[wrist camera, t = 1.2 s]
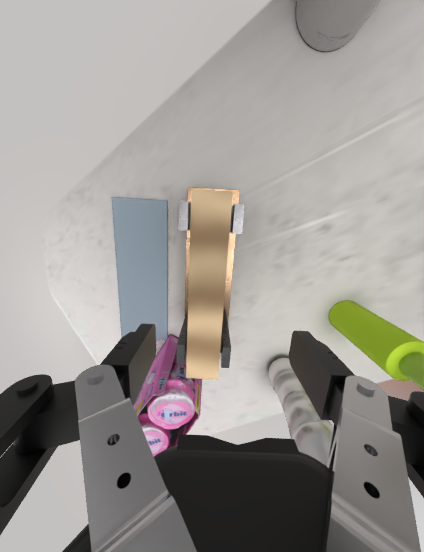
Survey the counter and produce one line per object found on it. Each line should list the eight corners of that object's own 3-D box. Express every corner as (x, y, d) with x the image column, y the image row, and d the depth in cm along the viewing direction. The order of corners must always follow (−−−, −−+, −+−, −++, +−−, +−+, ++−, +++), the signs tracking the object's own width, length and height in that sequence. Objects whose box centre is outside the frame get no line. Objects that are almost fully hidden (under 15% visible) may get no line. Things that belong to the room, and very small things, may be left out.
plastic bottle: (298, 353, 40) (378, 476, 21) (295, 380, 42) (365, 517, 22) (266, 352, 40) (316, 475, 21) (264, 380, 42) (307, 516, 22)
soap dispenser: (321, 328, 38) (429, 436, 19) (336, 296, 37) (473, 380, 17) (348, 336, 39) (482, 450, 19) (365, 305, 37) (530, 396, 18)
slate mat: (112, 197, 32) (111, 197, 32) (167, 200, 32) (166, 200, 32) (122, 336, 39) (121, 337, 39) (167, 339, 39) (167, 340, 39)
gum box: (172, 328, 38) (156, 385, 25) (207, 345, 40) (209, 408, 27) (121, 410, 44) (86, 492, 31) (154, 422, 45) (133, 506, 32)
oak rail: (195, 194, 23) (191, 189, 19) (229, 196, 23) (232, 191, 19) (189, 356, 29) (186, 377, 25) (217, 358, 29) (217, 379, 25)
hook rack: (189, 188, 32) (172, 167, 19) (238, 191, 32) (253, 172, 19) (185, 331, 39) (171, 383, 26) (226, 333, 39) (231, 387, 26)
